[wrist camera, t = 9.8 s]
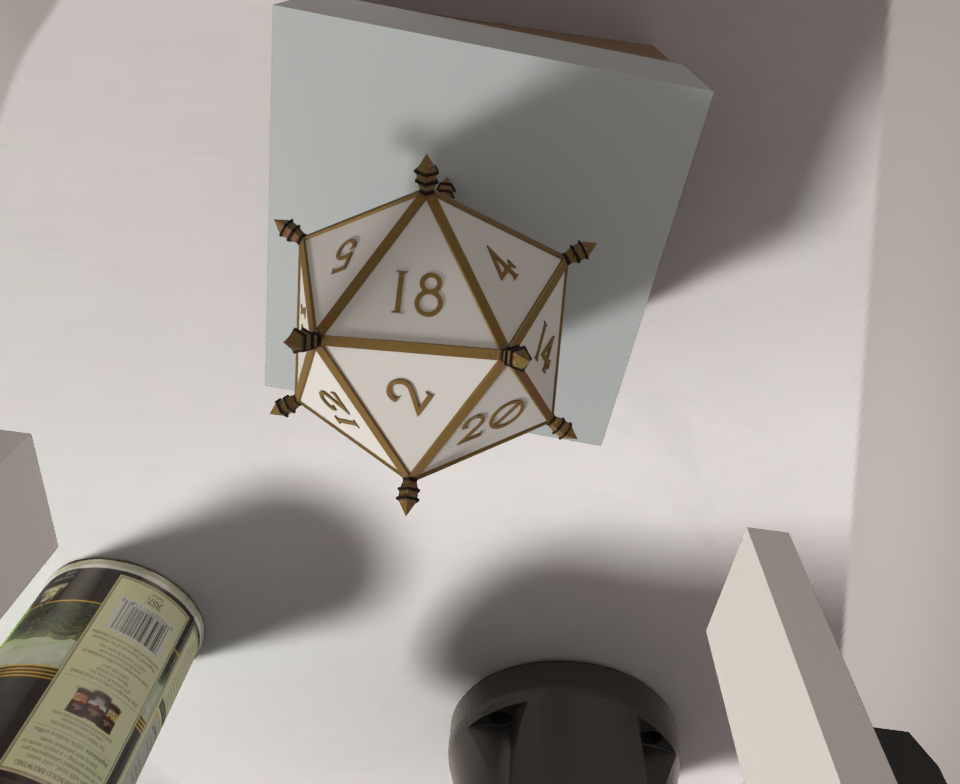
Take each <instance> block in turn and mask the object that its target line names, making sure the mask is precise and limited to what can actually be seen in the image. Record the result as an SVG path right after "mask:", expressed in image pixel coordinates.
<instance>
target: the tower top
mask: <svg viewBox="0 0 960 784" xmlns="http://www.w3.org/2000/svg"><path fill="white" fill-rule="evenodd" d="M713 95H714V91H713V90H712V89H711V88H710V87H708V86H707V85H706V84H705V83H704V82H703V81H702V80H700V79H699V78H698V77H697V76H696V75H695V74H694V73H692V72H691V71H690V70H689V69H688V68H687V67H686V66H684V65H683V64H678V63H673V62H668V61H663V60H658V59H653V58H648V57H643V56H638V55H633V54H627V53H622V52H617V51H612V50H607V49H602V48H597V47H592V46H587V45H582V44H577V43H572V42H567V41H562V40H557V39H552V38H547V37H542V36H537V35H531V34H526V33H521V32H516V31H511V30H506V29H501V28H496V27H491V26H486V25H481V24H476V23H471V22H466V21H461V20H456V19H451V18H446V17H441V16H435V15H430V14H425V13H420V12H415V11H410V10H405V9H400V8H395V7H390V6H385V5H380V4H375V3H370V2H365V1H360V0H289V1H286V2H282V3H278V4H274V5H273V20H272V70H271V119H270V168H269V218H268V267H267V316H266V365H265V386H270V387H276V388H281V389H287V390H293V391H295V366H296V354H293V351H292V349H291V348H289V347H288V346H287V345H286V344H285V343H283V342H284V341H285V340H286V339H287V338H288V337H289V336H290V334H291V332H292V331H293V329H294V328H297V293H298V257H299V245H298V244H297V243H295V242H293V241H292V242H288V241H287V238H285V237H280V236H279V234H280V233H279V231H278V228H277V226H276V223H275V221H274V219H277V220H291V219H293V222H294V223H295V224H296V225H300V226H301V227H300V228H301V230H302V231H303V232H304V233H305V234H307V235H308V234H310V233H313V232H315V231H318V230H320V229H323V228H325V227H328V226H330V225H333V224H335V223H338V222H340V221H343V220H345V219H348V218H350V217H353V216H355V215H358V214H360V213H363V212H365V211H368V210H370V209H373V208H375V207H378V206H380V205H383V204H385V203H388V202H390V201H393V200H395V199H398V198H400V197H403V196H405V195H408V194H410V193H413V192H415V191H418V190H420V189H419V186H418V183H416V182H415V179H416V178H417V176H416V173H414V170H415V169H416V168H417V167H418V166H419V165H420V163H421V162H422V160H423V158H424V157H425V155H426V154H428V156H429V158H430V159H431V161H432V163H433V164H434V165H436V166H437V168H438V171H439V174H438V175H437V179H438V184H436V186H435V189H434V190H436V189H437V187H438V185H439V182H443V181H444V180H445V179H446V178H447V177H448V179H449V181H450V183H452V184H453V186H454V188H455V190H456V192H454V194H453V195H454V197H455V198H454V200H456V201H458V202H460V203H462V204H464V205H466V206H468V207H470V208H472V209H474V210H476V211H478V212H480V213H482V214H484V215H486V216H488V217H490V218H492V219H494V220H496V221H498V222H500V223H502V224H504V225H506V226H508V227H510V228H512V229H514V230H516V231H518V232H520V233H522V234H524V235H526V236H528V237H530V238H532V239H534V240H536V241H538V242H540V243H542V244H544V245H546V246H548V247H550V248H552V249H554V250H556V251H558V252H560V253H565V252H566V251H567V250H568V249H569V248H570V245H572V246H573V245H575V244H577V243H578V240H580V242H590V243H597V245H596V246H595V248H594V249H593V251H592V252H591V254H590V255H589V259H586V258H585V259H583V260H581V261H580V262H581V263H577V262H575V263H571V264H570V265H569V266H568V273H567V283H566V294H565V304H564V314H563V325H562V335H561V346H560V356H559V367H558V377H557V387H556V398H555V408H554V415H555V416H556V417H559V418H562V417H563V418H565V421H567V422H568V423H569V422H571V423H572V425H573V426H572V428H573V430H574V432H575V434H576V436H577V439H566V438H562V439H566V440H571V441H577V442H582V443H588V444H593V445H599V446H601V445H602V442H603V439H604V436H605V432H606V429H607V426H608V423H609V420H610V417H611V414H612V411H613V407H614V404H615V401H616V398H617V395H618V392H619V389H620V386H621V382H622V379H623V376H624V373H625V370H626V367H627V364H628V361H629V357H630V354H631V351H632V348H633V345H634V342H635V339H636V336H637V332H638V329H639V326H640V323H641V320H642V317H643V314H644V310H645V307H646V304H647V301H648V298H649V295H650V292H651V289H652V285H653V282H654V279H655V276H656V273H657V270H658V267H659V264H660V260H661V257H662V254H663V251H664V248H665V245H666V242H667V239H668V235H669V232H670V229H671V226H672V223H673V220H674V217H675V214H676V210H677V207H678V204H679V201H680V198H681V195H682V192H683V188H684V185H685V182H686V179H687V176H688V173H689V170H690V167H691V163H692V160H693V157H694V154H695V151H696V148H697V145H698V142H699V138H700V135H701V132H702V129H703V126H704V123H705V120H706V117H707V113H708V110H709V107H710V104H711V101H712V98H713ZM552 432H553V431H552V430H551V428H550V427H549V426H547V425H544V426H542V427H540V428H537V429H535V430H533V431H530V432H528V433H532V434H538V435H543V436H549V437H554V438H559V436H558V435H556V434H552Z"/></svg>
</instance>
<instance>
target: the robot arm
mask: <svg viewBox="0 0 960 784" xmlns="http://www.w3.org/2000/svg"><path fill="white" fill-rule="evenodd" d="M57 548H58V543H57V539H56V535H55V531H54V526H53V522H52V518H51V514H50V510H49V506H48V501H47V497H46V493H45V489H44V485H43V481H42V476H41V472H40V468H39V464H38V460H37V456H36V451H35V447H34V443H33V439H32V435H31V434H29V433H21V432H13V431H6V430H0V619H1V618H2V617H3V615H4V614H5V613H6V612H7V610H8V609H9V608H10V607H11V605H12V604H13V603H14V602H15V600H16V599H17V598H18V597H19V595H20V594H21V593H22V592H23V590H24V589H25V588H26V587H27V585H28V584H29V583H30V582H31V580H32V579H33V578H34V577H35V575H36V574H37V573H38V572H39V570H40V569H41V568H42V567H43V565H44V564H45V563H46V562H47V560H48V559H49V558H50V557H51V555H52V554H53V553H54V552H55V550H56V549H57ZM706 633H707V637H708V641H709V645H710V649H711V653H712V657H713V661H714V665H715V669H716V673H717V677H718V681H719V684H720V688H721V692H722V696H723V700H724V704H725V708H726V712H727V716H728V720H729V724H730V728H731V732H732V736H733V740H734V744H735V748H736V752H737V756H738V760H739V764H740V768H741V772H742V776H743V780H744V784H947V783H946V781H945V779H944V777H943V775H942V773H941V771H940V769H939V767H938V766H937V764H936V763H935V762H934V761H933V760H932V759H931V757H930V756H929V755H928V754H927V753H926V752H925V750H924V749H923V748H922V747H921V746H920V745H919V744H918V742H917V741H916V740H915V739H914V738H913V737H912V735H911V734H910V733H909V732H904V731H897V730H889V729H881V728H874V727H873V726H872V724H871V722H870V719H869V717H868V715H867V712H866V710H865V708H864V706H863V703H862V701H861V698H860V696H859V694H858V692H857V689H856V687H855V685H854V682H853V680H852V678H851V676H850V673H849V671H848V669H847V666H846V664H845V662H844V659H843V657H842V655H841V652H840V650H839V648H838V646H837V643H836V641H835V639H834V636H833V634H832V632H831V629H830V627H829V625H828V623H827V620H826V618H825V616H824V613H823V611H822V609H821V606H820V604H819V602H818V600H817V597H816V595H815V593H814V590H813V588H812V586H811V583H810V581H809V579H808V577H807V574H806V572H805V570H804V567H803V565H802V563H801V560H800V558H799V556H798V554H797V551H796V549H795V547H794V544H793V542H792V540H791V537H790V535H789V533H786V532H779V531H771V530H763V529H756V528H748V527H747V528H746V531H745V533H744V536H743V539H742V541H741V544H740V546H739V549H738V551H737V554H736V556H735V559H734V561H733V564H732V566H731V569H730V571H729V574H728V577H727V579H726V582H725V584H724V587H723V589H722V592H721V594H720V597H719V599H718V602H717V604H716V607H715V609H714V612H713V615H712V617H711V620H710V622H709V625H708V627H707V630H706ZM448 756H449V766H450V771H451V775H452V780H453V784H677V783H678V777H679V771H680V752H679V746H678V740H677V734H676V728H675V723H674V720H673V717H672V715H671V713H670V711H669V709H668V707H667V706H666V705H665V703H664V702H663V701H662V700H661V699H660V698H659V697H658V696H657V695H656V694H655V693H654V692H653V691H652V690H651V689H649V688H648V687H646V686H645V685H643V684H642V683H640V682H639V681H637V680H635V679H633V678H631V677H629V676H627V675H624V674H622V673H619V672H617V671H614V670H610V669H607V668H603V667H599V666H595V665H589V664H583V663H574V662H544V663H535V664H528V665H523V666H519V667H515V668H511V669H508V670H505V671H502V672H500V673H497V674H495V675H493V676H490V677H489V678H487V679H485V680H483V681H482V682H480V683H478V684H477V685H476V686H474V687H473V688H472V689H471V690H469V691H468V692H467V693H466V694H465V695H464V697H463V698H462V699H461V700H460V702H459V703H458V705H457V707H456V709H455V711H454V713H453V716H452V721H451V730H450V739H449V749H448Z"/></svg>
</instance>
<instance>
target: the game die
mask: <svg viewBox="0 0 960 784" xmlns="http://www.w3.org/2000/svg"><path fill="white" fill-rule="evenodd" d="M414 173H416V176H417V178H416V179H415V182H416V183H418V186H419V189H420V190H418V191H415V192H413V193H410V194H408V195H405V196H403V197H400V198H398V199H395V200H393V201H390V202H388V203H385V204H383V205H380V206H378V207H375V208H373V209H370V210H368V211H365V212H363V213H360V214H358V215H355V216H353V217H350V218H348V219H345V220H343V221H340V222H338V223H335V224H333V225H330V226H328V227H325V228H323V229H320V230H318V231H315V232H313V233H310V234H308V235H307V234H305V233H304V232H303V231H302V230H301V228H300V227H301V226H300V225H296V224H295V223H294V222H293V219H291V220H277V219H274V221H275V223H276V226H277V228H278V231H279V233H280V234H279V236H280V237H285V238H287V241H288V242H292V241H293V242H295V243H297V244H298V245H299V257H298V293H297V328H294V329H293V331H292V332H291V334H290V336H289V337H288V338H287V339H286V340H285V341H284V342H283V343H285V344H286V345H287V346H288V347H289V348H291V349H292V351H293V354H296V366H295V394H294V395H293V396H289V395H287V396H285V397H283V399H281V398H280V399H278V400H277V401H275V403H276V404H275V406H274V407H273V409H272V411H271V413H270V414H274V415H284V416H285V417H289V416H288V414H290V413H292V412H293V413H295V412H296V411H295V410H296V409H297V408H298V407H299V406H301V405H303V406H304V407H305V408H307V409H308V410H310V411H311V412H312V413H314V414H315V415H317V416H318V417H319V418H321V419H322V420H323V421H325V422H326V423H328V424H329V425H330V426H332V427H333V428H335V429H336V430H337V431H339V432H340V433H342V434H343V435H344V436H346V437H347V438H349V439H350V440H351V441H353V442H354V443H355V444H357V445H358V446H360V447H361V448H362V449H364V450H365V451H367V452H368V453H369V454H371V455H372V456H374V457H375V458H376V459H378V460H379V461H381V462H382V463H383V464H385V465H386V466H387V467H389V468H390V469H392V470H393V471H394V472H396V473H397V474H399V475H400V476H401V477H403V483H402V485H401V487H398V490H399V496H398V497H396V499H397V500H399V502H400V504H401V506H402V509H403V511H404V513H405V515H407V514H408V513H409V511H410V510H411V508H412V507H413V506H414V504H415V503H417V502H418V501H419V499H418V498H417V496H418V493H419V492H420V489H418V487H417V480H418V479H421V478H423V477H425V476H428V475H430V474H432V473H435V472H437V471H439V470H442V469H444V468H446V467H449V466H451V465H453V464H456V463H458V462H460V461H463V460H465V459H467V458H470V457H472V456H474V455H477V454H479V453H481V452H484V451H486V450H488V449H491V448H493V447H495V446H498V445H500V444H502V443H505V442H507V441H509V440H512V439H514V438H516V437H519V436H521V435H523V434H526V433H528V432H530V431H533V430H535V429H537V428H540V427H542V426H544V425H547V426H549V427H550V428H551V430H552V431H553V432H552V434H556V435H558V436H559V439H562V438H566V439H577V436H576V434H575V432H574V430H573V428H572V426H573V425H572V423H571V422H569V423H568V422H567V421H565V418H563V417H562V418H559V417H556V416H555V415H554V408H555V398H556V387H557V377H558V367H559V356H560V346H561V335H562V325H563V314H564V304H565V294H566V283H567V273H568V266H569V265H570V264H571V263H575V262H577V263H581V262H580V261H581V260H583V259H585V258H586V259H589V255H590V254H591V252H592V251H593V249H594V248H595V246H596V245H597V243H590V242H580V240H578V243H577V244H575V245H573V246H572V245H570V248H569V249H568V250H567V251H566V252H565V253H560V252H558V251H556V250H554V249H552V248H550V247H548V246H546V245H544V244H542V243H540V242H538V241H536V240H534V239H532V238H530V237H528V236H526V235H524V234H522V233H520V232H518V231H516V230H514V229H512V228H510V227H508V226H506V225H504V224H502V223H500V222H498V221H496V220H494V219H492V218H490V217H488V216H486V215H484V214H482V213H480V212H478V211H476V210H474V209H472V208H470V207H468V206H466V205H464V204H462V203H460V202H458V201H456V200H454V198H455V197H454V195H453V194H454V192H456V190H455V188H454V186H453V184H452V183H450V181H449V179H448V177H447V178H446V179H445V180H444V181H443V182H439V185H438V187H437V189H436V190H434V189H435V186H436V184H438V179H437V175H438V174H439V171H438V168H437V166H436V165H434V164H433V163H432V161H431V159H430V158H429V156H428V154H426V155H425V157H424V158H423V160H422V162H421V163H420V165H419V166H418V167H417V168H416V169H415V170H414Z"/></svg>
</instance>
